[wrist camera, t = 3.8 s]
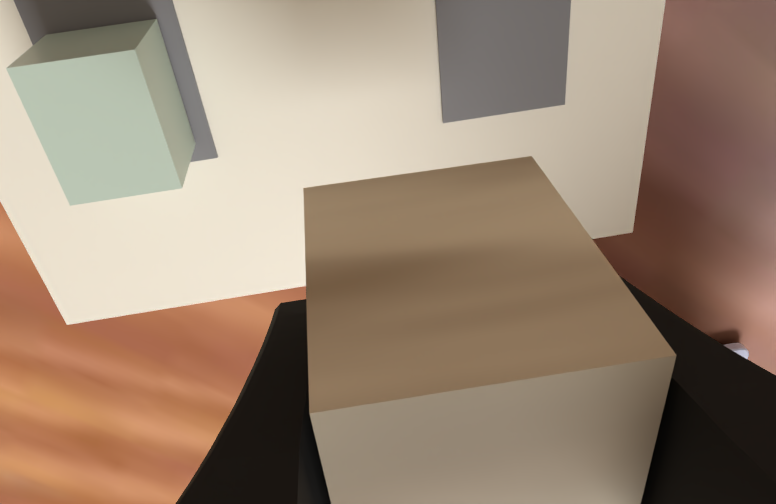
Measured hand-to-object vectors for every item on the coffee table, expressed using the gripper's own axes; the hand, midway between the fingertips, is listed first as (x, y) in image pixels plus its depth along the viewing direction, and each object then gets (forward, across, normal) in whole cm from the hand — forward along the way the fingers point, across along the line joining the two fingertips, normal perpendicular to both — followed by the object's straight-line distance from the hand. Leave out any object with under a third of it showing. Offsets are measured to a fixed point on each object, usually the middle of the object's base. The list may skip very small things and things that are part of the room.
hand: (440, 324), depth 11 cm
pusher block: (+2, 0, 0) cm, 2 cm away
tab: (+7, +6, -3) cm, 9 cm away
